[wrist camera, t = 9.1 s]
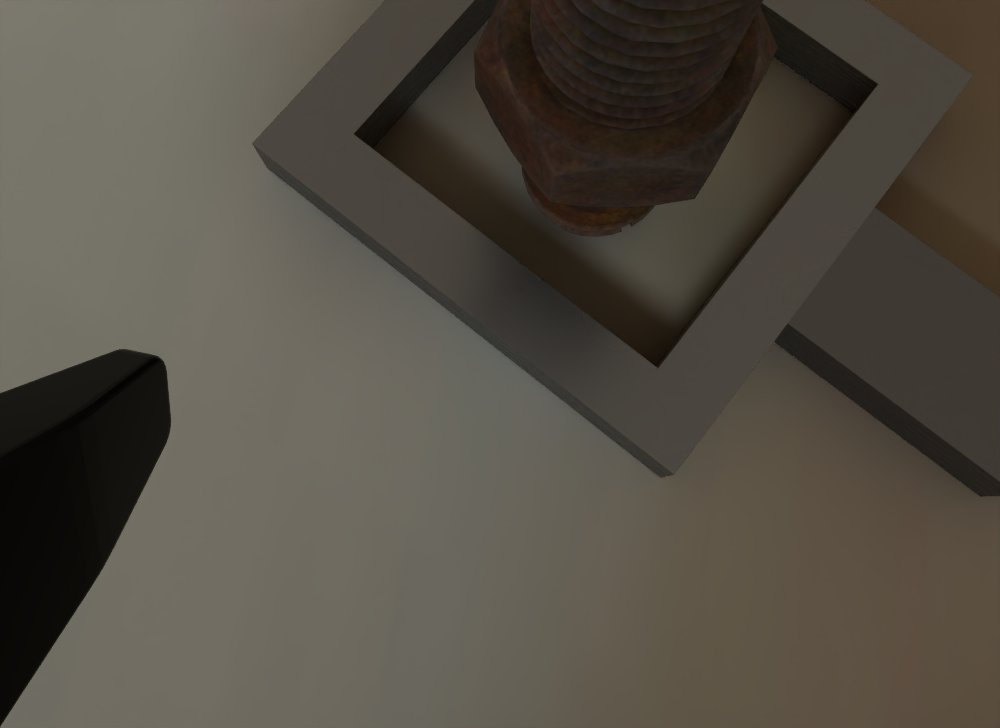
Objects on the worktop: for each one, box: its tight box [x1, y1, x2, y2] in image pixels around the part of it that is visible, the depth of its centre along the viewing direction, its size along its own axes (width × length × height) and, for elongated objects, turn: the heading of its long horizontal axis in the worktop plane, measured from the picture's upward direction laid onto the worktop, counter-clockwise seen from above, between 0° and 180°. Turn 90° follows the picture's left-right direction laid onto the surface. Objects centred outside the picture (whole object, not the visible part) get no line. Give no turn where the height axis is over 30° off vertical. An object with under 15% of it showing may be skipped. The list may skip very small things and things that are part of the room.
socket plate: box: [252, 0, 1000, 496], centre depth 17 cm, size 16×11×1 cm, turn 51°
